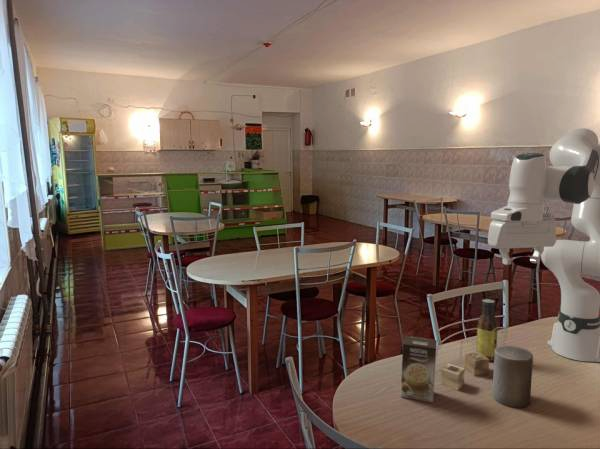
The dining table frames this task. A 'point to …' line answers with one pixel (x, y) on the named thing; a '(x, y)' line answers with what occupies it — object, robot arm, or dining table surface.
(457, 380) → the marked block beech
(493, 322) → the sauce bottle
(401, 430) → the dining table surface
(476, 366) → the wooden cube
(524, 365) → the pillar candle
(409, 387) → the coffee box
